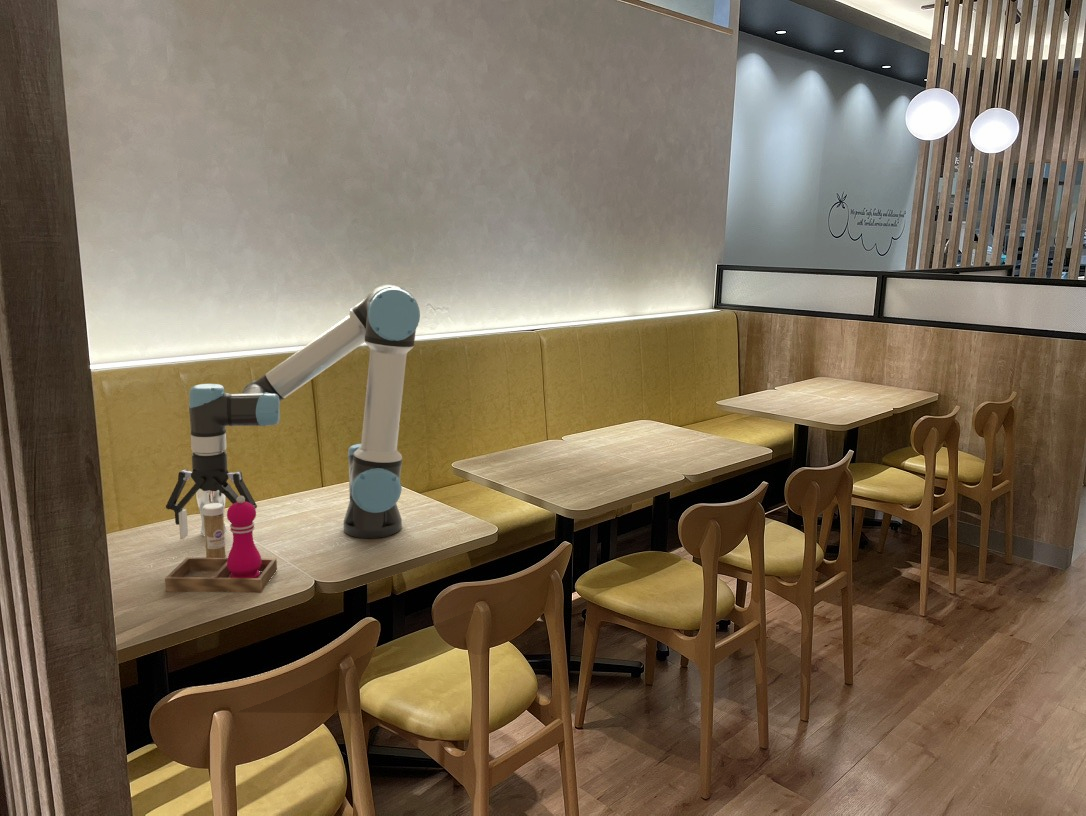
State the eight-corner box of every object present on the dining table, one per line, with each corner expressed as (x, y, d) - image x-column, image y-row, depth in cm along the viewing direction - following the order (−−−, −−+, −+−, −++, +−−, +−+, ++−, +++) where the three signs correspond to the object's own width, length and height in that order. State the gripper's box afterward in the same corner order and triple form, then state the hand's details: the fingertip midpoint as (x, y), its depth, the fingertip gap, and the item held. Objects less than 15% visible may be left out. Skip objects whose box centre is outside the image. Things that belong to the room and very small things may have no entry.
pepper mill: (222, 580, 181) (217, 495, 177) (253, 571, 186) (249, 488, 182) (236, 591, 176) (231, 503, 172) (268, 581, 181) (263, 496, 177)
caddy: (277, 570, 187) (276, 558, 186) (260, 592, 175) (260, 579, 175) (187, 569, 186) (186, 557, 186) (165, 591, 175) (164, 578, 174)
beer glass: (217, 538, 205) (214, 482, 202) (193, 536, 206) (189, 479, 203) (233, 529, 212) (230, 474, 208) (209, 527, 213) (205, 472, 210)
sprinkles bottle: (214, 564, 189) (211, 509, 187) (201, 560, 192) (197, 506, 189) (230, 558, 193) (227, 504, 191) (217, 554, 196) (214, 501, 193)
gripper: (268, 449, 191) (271, 534, 195) (161, 445, 190) (166, 530, 195) (258, 457, 184) (261, 545, 188) (147, 453, 183) (152, 542, 187)
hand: (213, 538), depth 191 cm, fingers open, 13 cm apart
